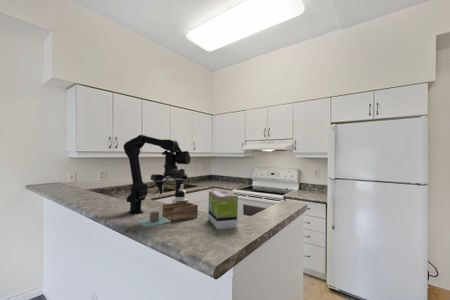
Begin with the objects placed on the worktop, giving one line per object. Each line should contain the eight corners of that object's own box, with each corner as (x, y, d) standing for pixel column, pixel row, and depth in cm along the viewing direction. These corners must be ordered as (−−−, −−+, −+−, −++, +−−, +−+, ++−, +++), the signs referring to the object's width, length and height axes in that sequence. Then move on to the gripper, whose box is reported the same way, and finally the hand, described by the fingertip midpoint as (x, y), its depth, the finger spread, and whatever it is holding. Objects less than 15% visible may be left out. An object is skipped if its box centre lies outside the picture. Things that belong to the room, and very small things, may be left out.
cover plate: (137, 223, 95) (137, 212, 95) (161, 219, 103) (161, 208, 104) (145, 229, 88) (146, 217, 89) (170, 223, 97) (170, 212, 97)
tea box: (207, 220, 103) (208, 190, 104) (225, 218, 106) (226, 190, 107) (216, 230, 89) (217, 195, 89) (237, 227, 92) (238, 195, 93)
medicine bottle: (175, 213, 112) (176, 191, 113) (171, 210, 118) (172, 190, 119) (187, 212, 116) (188, 191, 117) (183, 209, 122) (184, 189, 123)
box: (162, 217, 105) (162, 204, 105) (185, 212, 114) (185, 201, 115) (173, 222, 97) (174, 208, 97) (197, 217, 107) (197, 205, 107)
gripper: (161, 164, 95) (159, 197, 95) (193, 164, 108) (192, 193, 108) (150, 163, 103) (149, 194, 103) (182, 163, 116) (181, 191, 116)
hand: (169, 193), depth 107 cm, fingers open, 9 cm apart
